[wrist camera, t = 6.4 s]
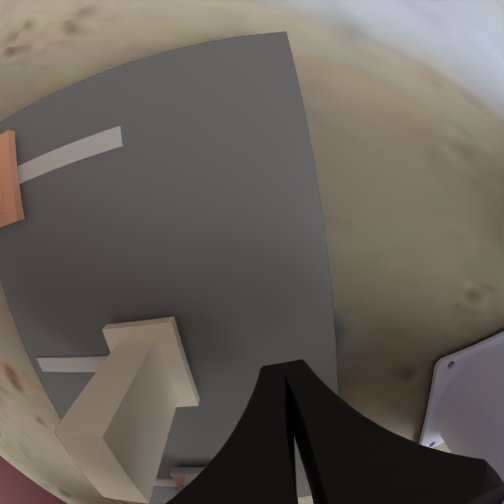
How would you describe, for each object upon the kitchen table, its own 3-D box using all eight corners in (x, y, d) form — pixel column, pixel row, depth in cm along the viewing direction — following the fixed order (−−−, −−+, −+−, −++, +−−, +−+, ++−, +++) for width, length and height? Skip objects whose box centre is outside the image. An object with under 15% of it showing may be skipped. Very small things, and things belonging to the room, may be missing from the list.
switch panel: (281, 47, 11) (286, 30, 9) (333, 473, 16) (338, 490, 14) (-3, 138, 11) (-22, 135, 10) (123, 484, 16) (118, 499, 14)
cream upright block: (174, 316, 11) (119, 423, 5) (199, 398, 12) (177, 513, 6) (106, 324, 11) (27, 413, 5) (137, 401, 12) (93, 501, 6)
